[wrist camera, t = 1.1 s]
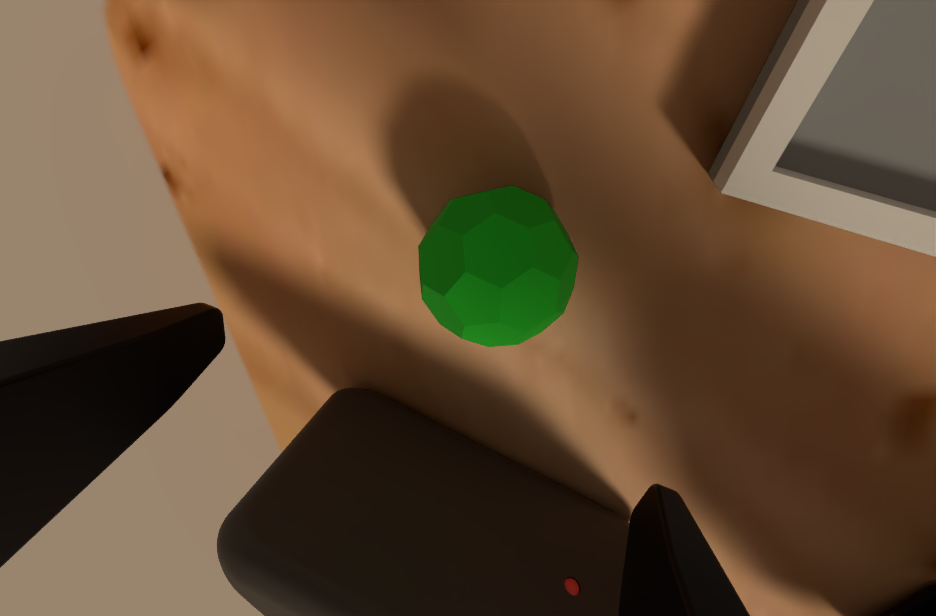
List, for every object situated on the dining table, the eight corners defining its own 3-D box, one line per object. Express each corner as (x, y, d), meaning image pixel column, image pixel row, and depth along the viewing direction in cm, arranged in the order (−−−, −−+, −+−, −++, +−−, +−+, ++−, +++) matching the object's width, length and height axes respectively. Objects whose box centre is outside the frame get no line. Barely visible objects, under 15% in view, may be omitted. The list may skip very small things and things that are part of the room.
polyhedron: (447, 163, 15) (385, 201, 11) (592, 176, 14) (580, 224, 10) (448, 291, 18) (397, 358, 14) (571, 311, 17) (554, 391, 13)
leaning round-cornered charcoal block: (334, 425, 24) (195, 601, 16) (348, 367, 22) (192, 543, 14) (606, 565, 23) (597, 828, 15) (655, 521, 20) (674, 809, 13)
